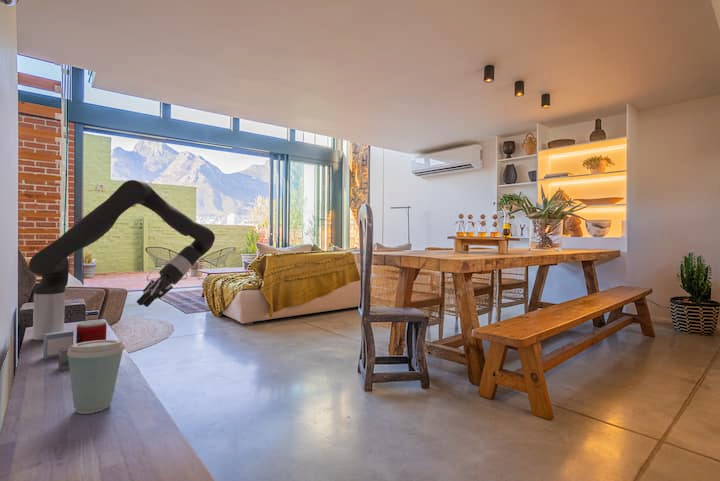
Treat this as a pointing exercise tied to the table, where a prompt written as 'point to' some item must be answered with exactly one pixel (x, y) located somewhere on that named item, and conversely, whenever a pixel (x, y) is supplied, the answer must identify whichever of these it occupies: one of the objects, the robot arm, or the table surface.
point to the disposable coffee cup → (94, 373)
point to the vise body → (63, 360)
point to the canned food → (91, 331)
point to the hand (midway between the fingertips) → (141, 304)
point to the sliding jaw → (56, 343)
